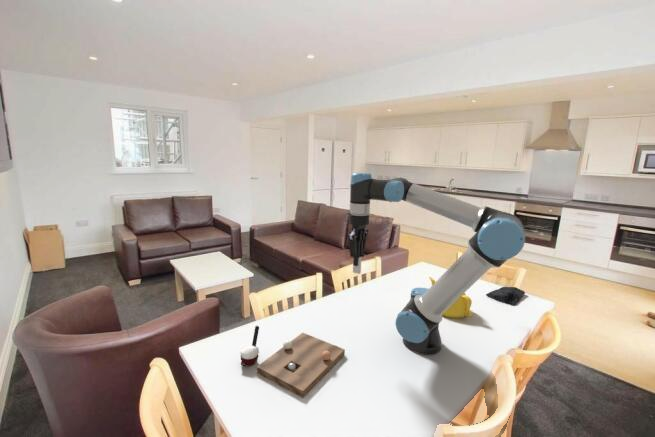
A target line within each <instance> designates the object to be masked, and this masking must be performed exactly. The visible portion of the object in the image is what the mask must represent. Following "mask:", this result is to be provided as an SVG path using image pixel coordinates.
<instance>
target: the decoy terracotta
mask: <svg viewBox="0 0 655 437" xmlns="http://www.w3.org/2000/svg"><path fill="white" fill-rule="evenodd" d="M330 357H331V354H330V352H329V351H324V352H323V353H322V358H323V359H324V360H329V359H330Z"/></svg>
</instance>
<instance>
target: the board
mask: <svg viewBox="0 0 655 437" xmlns="http://www.w3.org/2000/svg"><path fill="white" fill-rule="evenodd" d="M290 341H291V343H292V346H291V348H290V349H285V348H284V346H282V348H280V349H279V350H277V351H276V352H275V353H273V354H271V355H270V356H269V357H268V358H266V359H265V360H264V361H262V362H261V363H259V364H258V365H257V366H256V374H257V375H259V376H261V377H263V378H265V379H267V380H268V381H271V382H272V383H274V384H276V385H278V386H280V387H282V388H284V389H286V391H289V392H291V393H293V394H294V395H296V396H298V397H300V398H302V399H304V398H305V397H306V396H307V395H308V393H310V391H312V389H314V387H315V386H316V385H317V384H318V383H319V382H320V381H322V379H324V377H326V375H327V374H328V373H329V372H330V371H331V370H332V369H333V368H334V367H335V366H336V365H337V364H338V363H339V362H340V361H341V360H342V359H343V357H344V356H345V353H346V352H345V350H346V349H345V348H342V347H339V346H337V345H334V344H332V343H330V342H327V341H324V340H323V339H319V338H317V337H315V336H312V335H310V334H307V333H305V332H301V333H300V334H299V335H297V336H296V337H295V338H293V339H292V340H290ZM324 351H329V352H330V354H331V357H330V359H329V360H324V359H323V358H322V353H323V352H324ZM289 363H295V364H296V370H295V372H293V373H292V372H290V371H288V370H287V366H288V364H289Z"/></svg>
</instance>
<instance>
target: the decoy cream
mask: <svg viewBox="0 0 655 437" xmlns="http://www.w3.org/2000/svg"><path fill="white" fill-rule="evenodd" d="M291 341H292V340H289V339H287V340H284V341H283V344H282V345H283V346H282V347H284V348H285V349H290V348H291V346H292V343H291Z"/></svg>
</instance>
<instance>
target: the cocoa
mask: <svg viewBox="0 0 655 437" xmlns="http://www.w3.org/2000/svg"><path fill="white" fill-rule="evenodd" d="M259 331H260V326H258V325H255V326H254V332H253V338H252V344H251V345H248V346H246V347H244V348H242V349H241V350H240V352H239V354H240V360H241V361H240V365H241V367H251V366H254V365H256V363H257V362H258V360H259V353H260V350H259V347H258V346H257V342H258V336H259Z"/></svg>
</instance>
